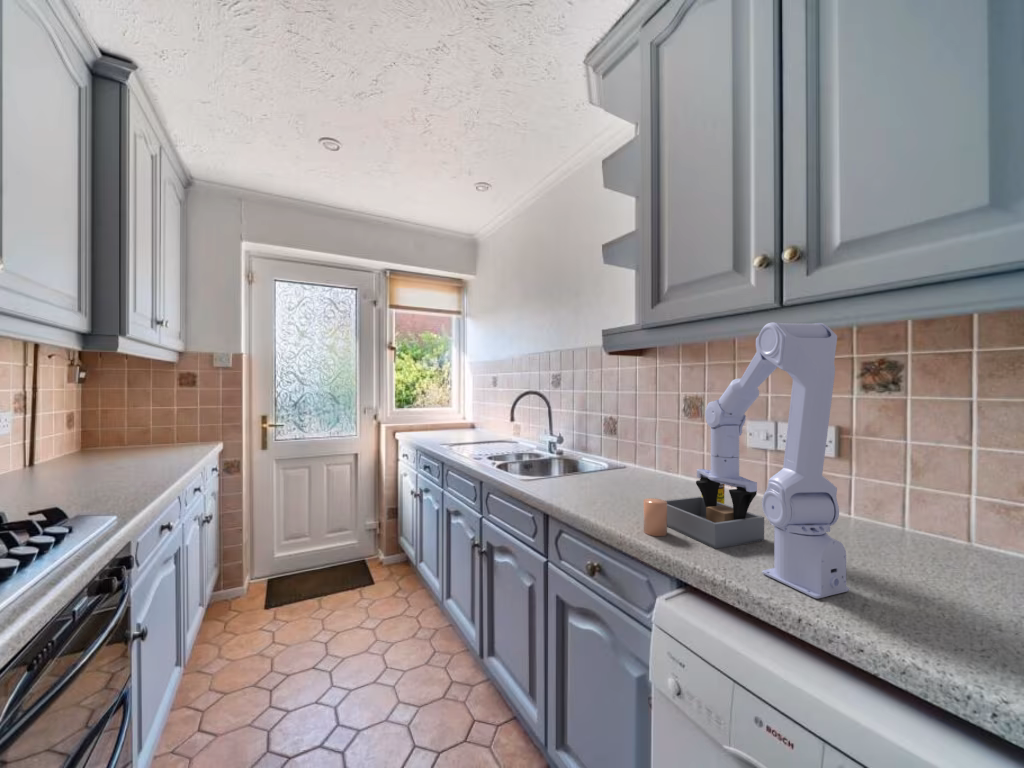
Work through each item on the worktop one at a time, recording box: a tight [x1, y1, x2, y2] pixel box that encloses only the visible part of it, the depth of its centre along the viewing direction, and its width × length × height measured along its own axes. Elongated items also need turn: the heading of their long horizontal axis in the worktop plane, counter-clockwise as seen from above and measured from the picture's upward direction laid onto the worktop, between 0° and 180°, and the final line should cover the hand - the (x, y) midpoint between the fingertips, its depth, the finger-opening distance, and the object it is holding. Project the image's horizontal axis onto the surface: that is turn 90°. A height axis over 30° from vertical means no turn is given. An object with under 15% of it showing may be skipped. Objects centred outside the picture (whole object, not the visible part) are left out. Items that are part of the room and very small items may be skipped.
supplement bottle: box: [701, 483, 726, 504], centre depth 110 cm, size 6×6×10 cm
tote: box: [664, 495, 765, 550], centre depth 94 cm, size 18×14×5 cm
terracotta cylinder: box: [643, 498, 668, 537], centre depth 93 cm, size 5×5×7 cm
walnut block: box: [706, 505, 734, 523], centre depth 91 cm, size 5×5×5 cm
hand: (724, 516), depth 92 cm, fingers open, 7 cm apart
